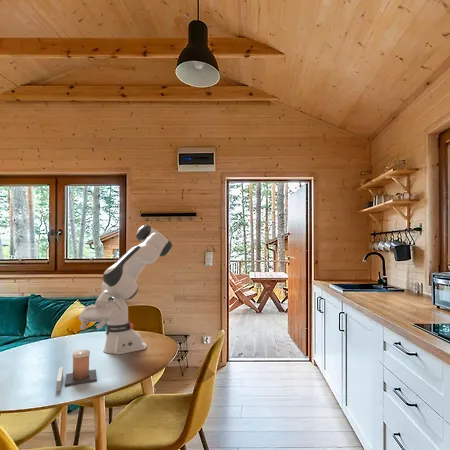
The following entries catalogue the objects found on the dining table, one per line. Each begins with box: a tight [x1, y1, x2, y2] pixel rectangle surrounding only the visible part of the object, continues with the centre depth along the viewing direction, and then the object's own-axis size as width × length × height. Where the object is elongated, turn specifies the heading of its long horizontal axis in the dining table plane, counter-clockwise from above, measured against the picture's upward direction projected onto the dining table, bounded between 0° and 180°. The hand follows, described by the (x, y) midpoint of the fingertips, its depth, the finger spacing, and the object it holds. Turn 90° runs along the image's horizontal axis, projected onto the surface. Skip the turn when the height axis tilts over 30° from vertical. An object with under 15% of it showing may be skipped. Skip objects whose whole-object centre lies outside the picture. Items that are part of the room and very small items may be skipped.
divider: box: [55, 366, 64, 392], centre depth 134 cm, size 2×16×4 cm, turn 23°
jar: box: [72, 349, 91, 380], centre depth 140 cm, size 7×7×10 cm
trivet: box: [64, 369, 98, 387], centre depth 139 cm, size 12×12×1 cm
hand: (90, 328), depth 144 cm, fingers open, 8 cm apart
